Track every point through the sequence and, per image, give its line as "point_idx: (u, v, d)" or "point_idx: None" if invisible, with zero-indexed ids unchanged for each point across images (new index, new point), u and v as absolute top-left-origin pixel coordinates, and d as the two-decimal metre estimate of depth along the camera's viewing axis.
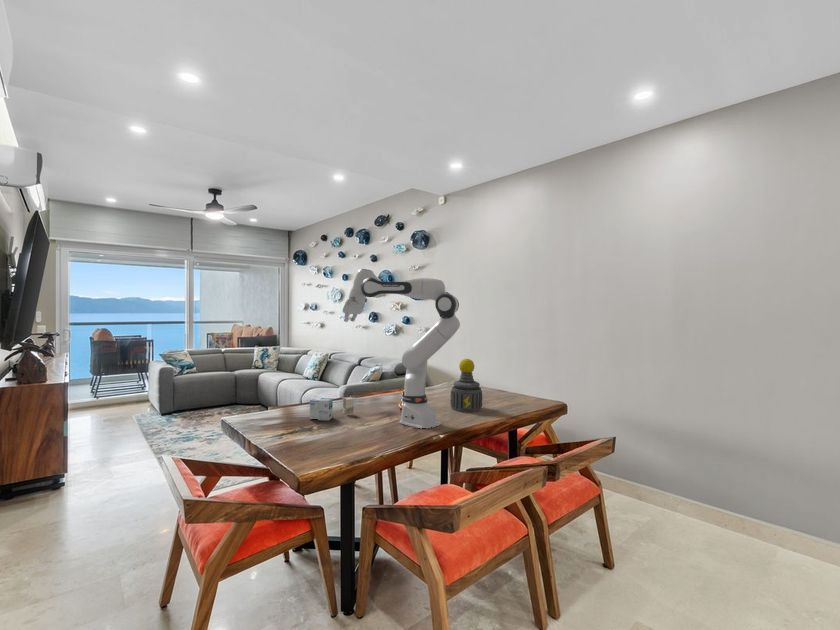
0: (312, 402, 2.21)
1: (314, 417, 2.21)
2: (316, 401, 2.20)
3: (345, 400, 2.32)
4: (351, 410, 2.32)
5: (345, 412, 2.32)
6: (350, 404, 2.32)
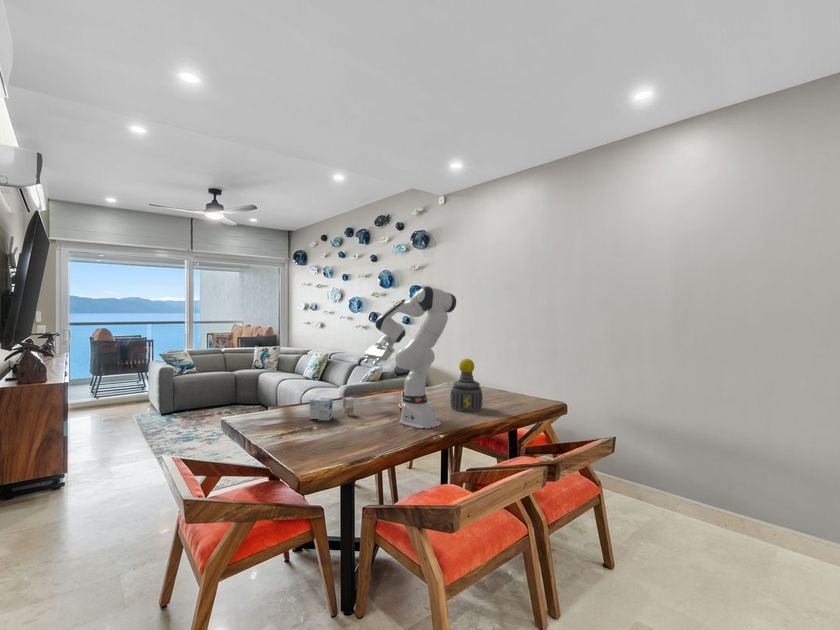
0: (312, 402, 2.21)
1: (314, 417, 2.21)
2: (316, 401, 2.20)
3: (345, 400, 2.32)
4: (351, 410, 2.32)
5: (345, 412, 2.32)
6: (350, 404, 2.32)
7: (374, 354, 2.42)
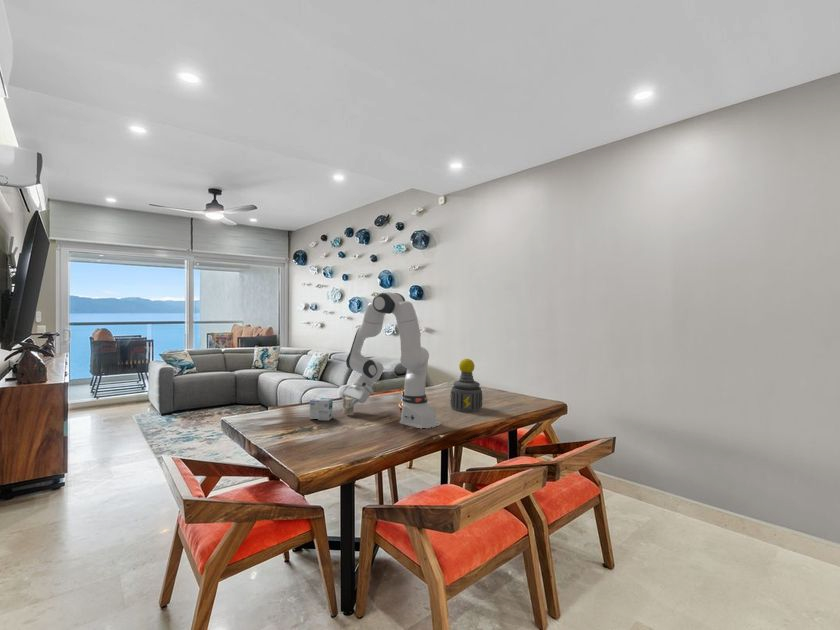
0: (312, 402, 2.21)
1: (314, 417, 2.21)
2: (316, 401, 2.20)
3: (345, 400, 2.32)
4: (351, 410, 2.32)
5: (345, 412, 2.32)
6: None
7: (352, 395, 2.34)
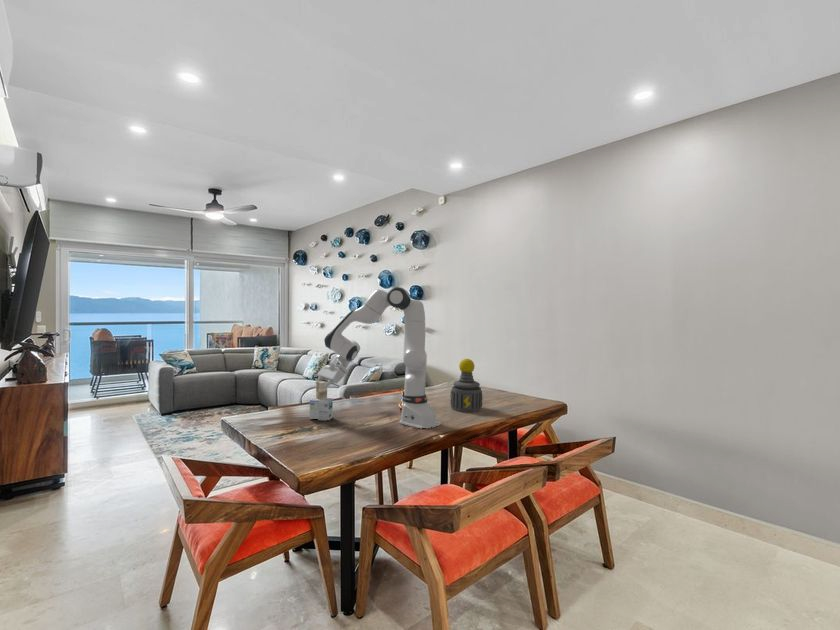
0: (312, 402, 2.21)
1: (314, 417, 2.21)
2: (316, 401, 2.20)
3: (318, 383, 2.22)
4: (324, 394, 2.22)
5: (318, 396, 2.22)
6: (324, 388, 2.22)
7: (326, 375, 2.24)
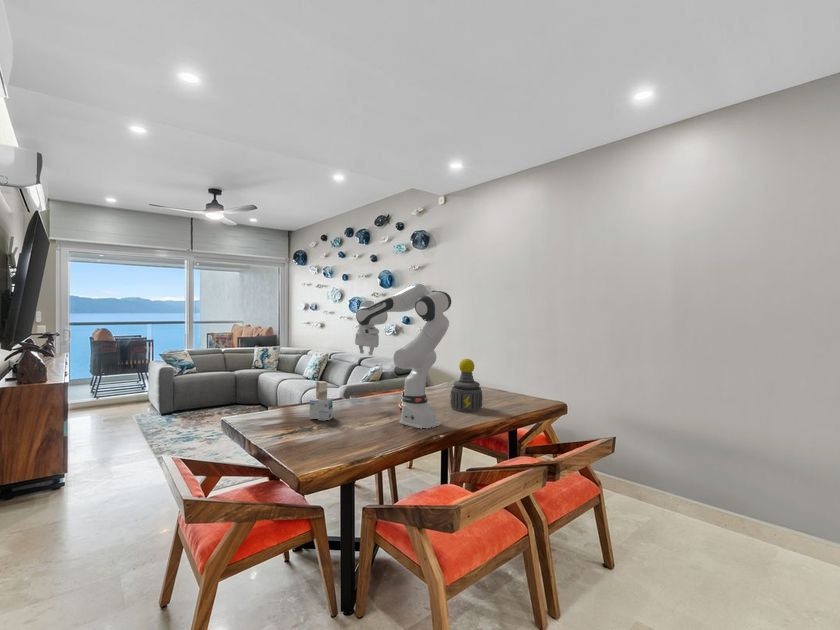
0: (312, 402, 2.21)
1: (314, 417, 2.21)
2: (316, 401, 2.20)
3: (318, 384, 2.22)
4: (324, 394, 2.22)
5: (318, 396, 2.22)
6: (324, 388, 2.22)
7: (364, 344, 2.36)
